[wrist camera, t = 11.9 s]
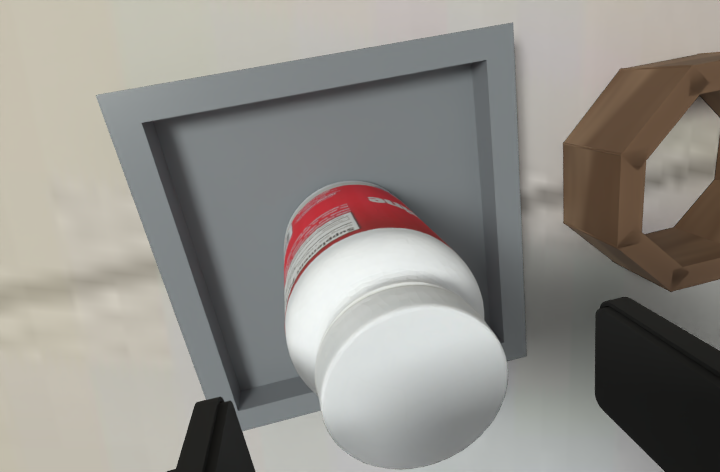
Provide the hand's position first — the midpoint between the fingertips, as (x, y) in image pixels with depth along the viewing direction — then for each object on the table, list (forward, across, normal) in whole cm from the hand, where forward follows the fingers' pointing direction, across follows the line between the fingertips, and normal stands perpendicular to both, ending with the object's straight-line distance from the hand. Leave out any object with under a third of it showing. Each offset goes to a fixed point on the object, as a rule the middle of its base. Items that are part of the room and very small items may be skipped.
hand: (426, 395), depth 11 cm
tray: (+12, 0, -1) cm, 12 cm away
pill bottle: (+11, 0, -1) cm, 11 cm away
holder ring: (+12, -16, -1) cm, 20 cm away
